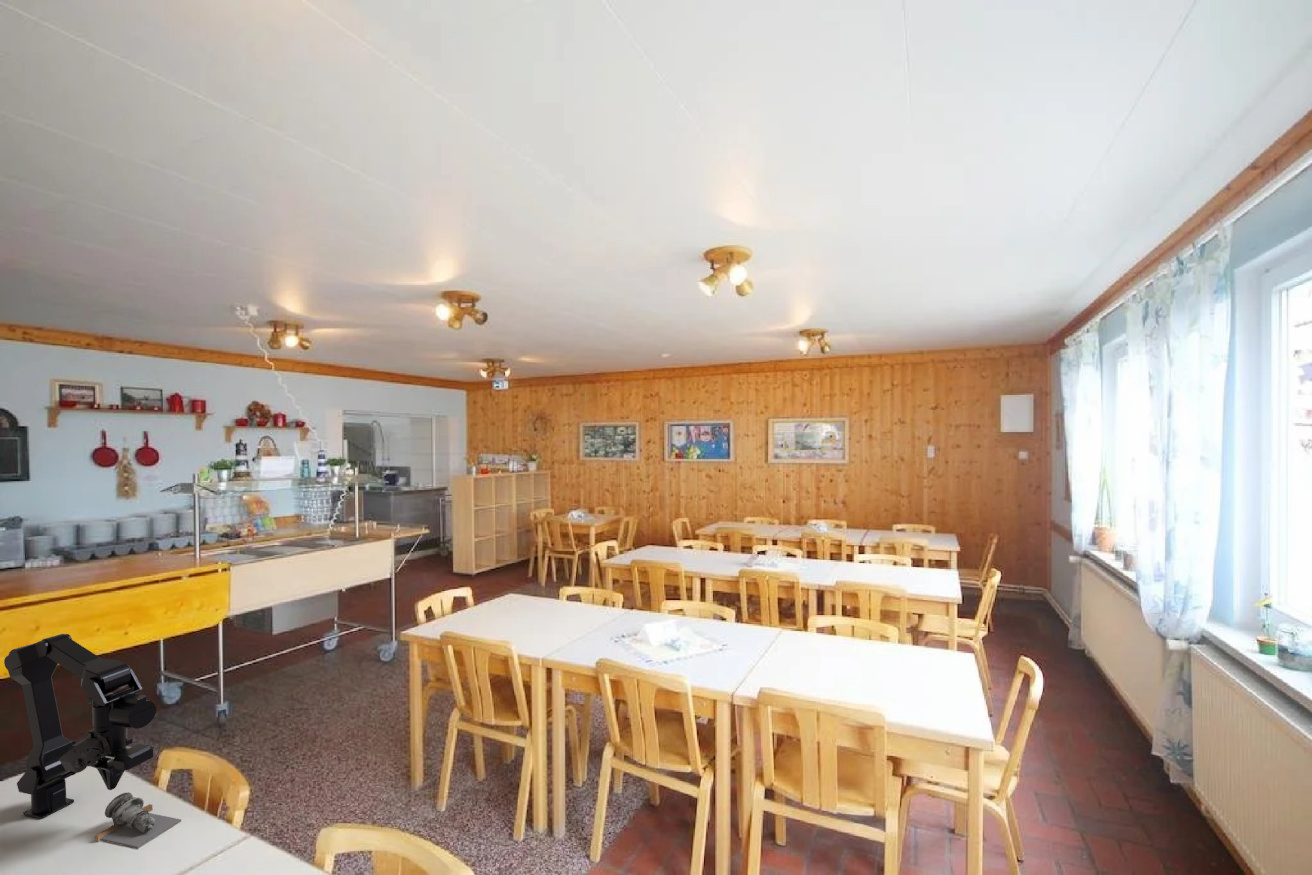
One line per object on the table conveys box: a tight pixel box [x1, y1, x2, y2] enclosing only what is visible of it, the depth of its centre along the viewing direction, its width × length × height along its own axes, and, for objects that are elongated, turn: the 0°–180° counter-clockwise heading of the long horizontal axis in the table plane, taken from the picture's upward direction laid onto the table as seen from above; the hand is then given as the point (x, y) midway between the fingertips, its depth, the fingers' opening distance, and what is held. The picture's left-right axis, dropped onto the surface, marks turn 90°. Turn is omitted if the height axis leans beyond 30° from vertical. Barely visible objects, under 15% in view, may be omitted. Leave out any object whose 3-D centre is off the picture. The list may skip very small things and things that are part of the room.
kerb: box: [94, 803, 154, 843], centre depth 134 cm, size 1×11×1 cm, turn 165°
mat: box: [100, 812, 182, 849], centre depth 132 cm, size 11×9×1 cm
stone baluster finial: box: [104, 792, 155, 832], centre depth 132 cm, size 6×6×12 cm
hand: (111, 788), depth 135 cm, fingers closed
